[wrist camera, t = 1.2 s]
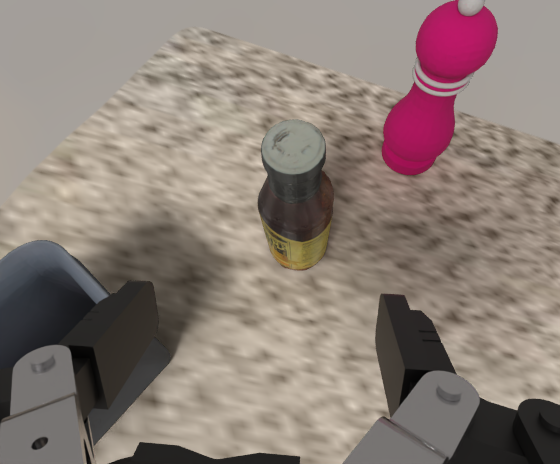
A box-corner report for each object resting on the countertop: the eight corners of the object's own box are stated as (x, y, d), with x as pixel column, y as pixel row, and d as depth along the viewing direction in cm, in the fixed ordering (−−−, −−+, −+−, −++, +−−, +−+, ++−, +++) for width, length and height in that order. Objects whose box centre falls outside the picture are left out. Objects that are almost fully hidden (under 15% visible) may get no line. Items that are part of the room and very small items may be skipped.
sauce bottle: (264, 229, 42) (229, 111, 24) (317, 215, 43) (322, 86, 24) (279, 283, 40) (252, 197, 21) (335, 267, 40) (356, 168, 22)
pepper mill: (452, 157, 44) (554, -8, 26) (406, 190, 43) (479, 43, 24) (408, 119, 47) (473, -56, 28) (364, 149, 45) (402, -12, 27)
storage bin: (36, 551, 32) (-152, 665, 19) (-49, 419, 37) (-248, 439, 24) (208, 356, 38) (152, 341, 24) (113, 263, 42) (24, 207, 29)
